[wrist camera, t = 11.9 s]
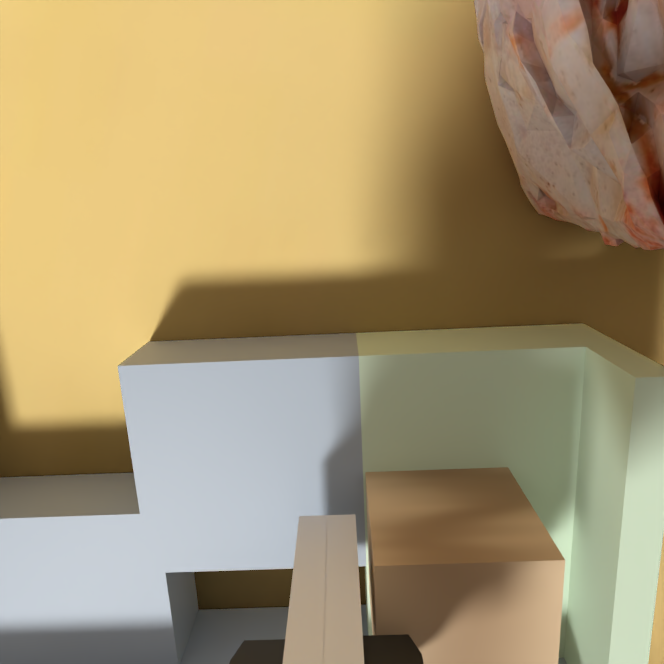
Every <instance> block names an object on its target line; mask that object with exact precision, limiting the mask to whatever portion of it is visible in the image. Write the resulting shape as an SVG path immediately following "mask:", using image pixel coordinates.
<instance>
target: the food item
mask: <svg viewBox="0 0 664 664" xmlns="http://www.w3.org/2000/svg"><path fill="white" fill-rule="evenodd" d="M474 4H475V11H476V17H477V31H478V40H479V43H480V45H481V48H482V50H483V53H484V75H485V81H486V84H487V88H488V92H489V96H490V99H491V103H492V107H493V110H494V114H495V118H496V122H497V125H498V127H499V129H500V131H501V133H502V135H503V137H504V139H505V142H506V144H507V147H508V150H509V152H510V155H511V157H512V160H513V162H514V165H515V168H516V170H517V173H518V175H519V179H520V185H521V188H522V189H523V191H524V193H525V194H526V196H527V198H528V199H529V201H530V203H531V204H532V206H533V207H534V208H535V210H536V211H537V213H538V214H539V215H540V214H543V215H545V216H547V217H550V218H552V219H554V220H557V221H565V222H571V223H573V224H575V225H578V226H581V227H583V228H584V229H586V230H588V231H594V232H600V233H601V236H602V238H603V241H604V244H605V245H612V246H618V245H620V244H621V243H623V242H624V241H625V242H627V243H628V244H630V245H631V246H633V247H635V248H638V247H641V248H642V249H643V250H657V249H664V0H474Z"/></svg>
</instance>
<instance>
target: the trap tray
mask: <svg viewBox="0 0 664 664" xmlns="http://www.w3.org/2000/svg"><path fill="white" fill-rule="evenodd" d="M118 372H119V378H120V385H121V392H122V398H123V405H124V412H125V418H126V425H127V432H128V438H129V445H130V451H131V458H132V465H133V471H134V472H133V473H106V474H78V475H51V476H23V477H0V664H229V663H230V660H231V659H232V657H233V656H234V654H235V653H236V651H237V650H238V648H239V647H240V646H241V644H242V643H243V641H244V640H276V639H285V637H286V628H287V620H288V611H289V607H267V608H234V609H201V610H199V607H198V600H197V592H196V584H195V576H194V572H202V571H233V570H264V569H293V566H294V558H295V549H296V540H297V531H298V522H299V516H318V515H351V514H355V516H356V533H357V550H358V566H365V590H366V605H361V616H362V633H363V636H365V635H373V633H372V620H371V607H370V594H369V565H368V535H367V506H366V476H365V472H385V471H413V470H442V469H471V468H499V467H508V468H509V470H510V471H511V473H512V474H513V476H514V478H515V479H516V481H517V483H518V484H519V486H520V487H521V489H522V491H523V492H524V494H525V496H526V497H527V499H528V500H529V502H530V504H531V505H532V507H533V509H534V510H535V512H536V513H537V515H538V517H539V518H540V520H541V522H542V523H543V525H544V526H545V528H546V530H547V531H548V533H549V535H550V536H551V538H552V539H553V541H554V543H555V544H556V546H557V548H558V549H559V551H560V552H561V554H562V556H563V557H564V559H565V572H564V586H563V601H562V615H561V630H560V644H559V659H558V664H648V661H649V652H650V644H651V635H652V627H653V618H654V610H655V601H656V592H657V584H658V575H659V567H660V558H661V550H662V541H663V533H664V366H662V365H660V364H658V363H657V362H655V361H653V360H651V359H649V358H647V357H645V356H643V355H642V354H640V353H638V352H636V351H634V350H632V349H630V348H629V347H627V346H625V345H623V344H621V343H619V342H617V341H615V340H614V339H612V338H610V337H608V336H606V335H604V334H602V333H600V332H599V331H597V330H595V329H593V328H591V327H589V326H587V325H585V324H584V323H577V324H553V325H530V326H506V327H482V328H458V329H435V330H411V331H387V332H363V333H340V334H316V335H292V336H268V337H245V338H221V339H197V340H174V341H150V342H148V343H146V344H145V345H144V346H143V347H141V348H140V349H139V350H137V351H136V352H135V353H134V354H132V355H131V356H130V357H129V358H127V359H126V360H125V361H123V362H122V363H121V364H120V365H118Z"/></svg>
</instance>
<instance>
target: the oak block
mask: <svg viewBox="0 0 664 664" xmlns="http://www.w3.org/2000/svg"><path fill="white" fill-rule="evenodd" d="M365 476H366V506H367V535H368V565H369V594H370V607H371V620H372V633H373V635H402V634H409V636H410V637H411V639H412V640H413V642H414V643H415V645H416V646H417V648H418V649H419V651H420V652H421V654H422V657H423V663H424V664H558V659H559V644H560V630H561V615H562V601H563V586H564V572H565V559H564V557H563V556H562V554H561V552H560V551H559V549H558V548H557V546H556V544H555V543H554V541H553V539H552V538H551V536H550V535H549V533H548V531H547V530H546V528H545V526H544V525H543V523H542V522H541V520H540V518H539V517H538V515H537V513H536V512H535V510H534V509H533V507H532V505H531V504H530V502H529V500H528V499H527V497H526V496H525V494H524V492H523V491H522V489H521V487H520V486H519V484H518V483H517V481H516V479H515V478H514V476H513V474H512V473H511V471H510V470H509V468H508V467H499V468H471V469H442V470H413V471H385V472H365Z"/></svg>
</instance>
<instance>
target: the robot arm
mask: <svg viewBox="0 0 664 664" xmlns="http://www.w3.org/2000/svg"><path fill="white" fill-rule="evenodd" d="M229 664H424V663H423V657H422V654H421V652H420V651H419V649H418V648H417V646H416V645H415V643H414V642H413V640H412V639H411V637H410V636H409V634H402V635H365V636H363V633H362V616H361V600H360V583H359V566H358V550H357V533H356V516H355V514H351V515H318V516H299V522H298V531H297V540H296V549H295V558H294V566H293V575H292V584H291V593H290V602H289V611H288V620H287V628H286V637H285V639H276V640H244V641H243V643H242V644H241V646H240V647H239V648H238V650H237V651H236V653H235V654H234V656H233V657H232V659H231V660H230V663H229Z"/></svg>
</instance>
